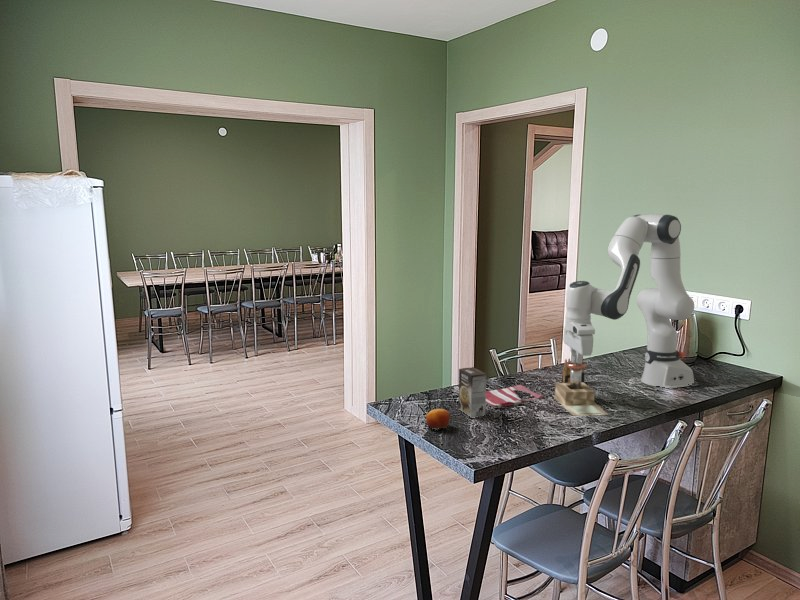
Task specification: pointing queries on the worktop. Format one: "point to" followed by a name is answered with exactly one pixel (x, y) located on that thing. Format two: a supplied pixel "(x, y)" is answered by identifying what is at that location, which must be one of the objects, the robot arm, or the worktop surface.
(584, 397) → the collar stand
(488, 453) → the worktop surface
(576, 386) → the handwheel peg
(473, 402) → the coffee box
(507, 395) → the dish towel
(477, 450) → the worktop surface
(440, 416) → the fruit
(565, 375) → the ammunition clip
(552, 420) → the worktop surface
